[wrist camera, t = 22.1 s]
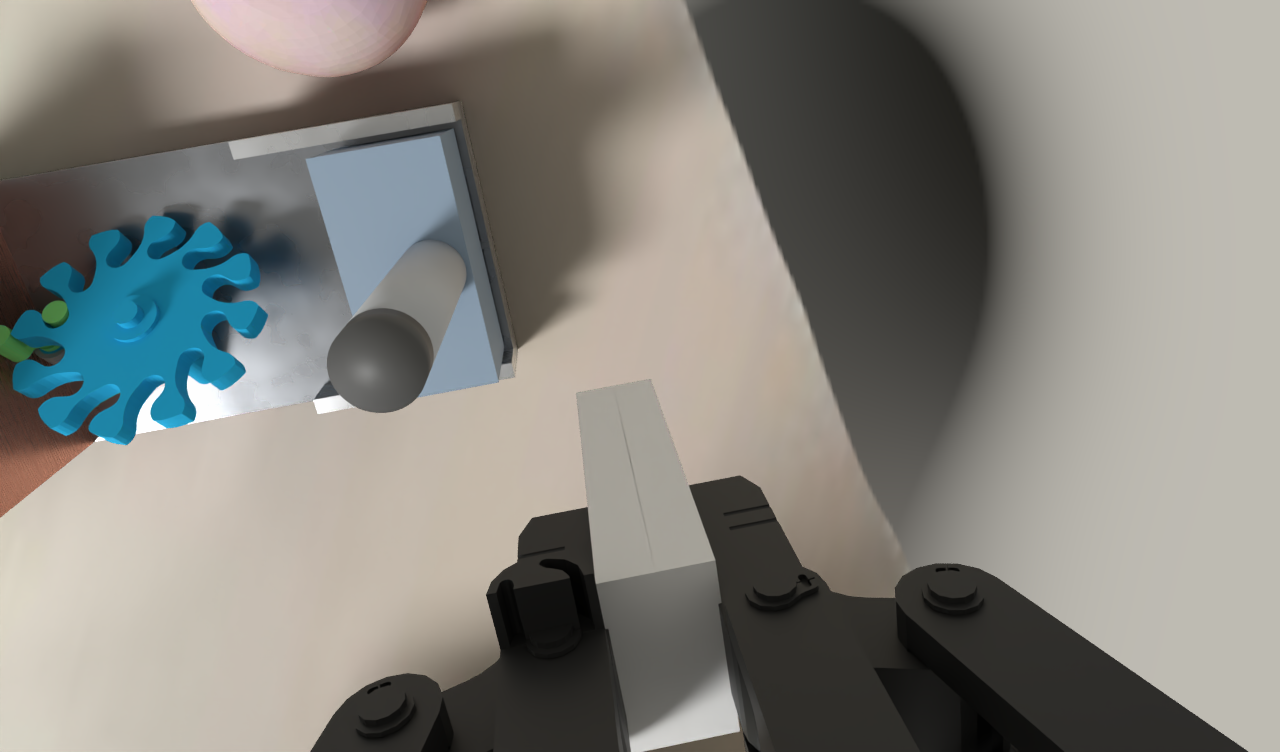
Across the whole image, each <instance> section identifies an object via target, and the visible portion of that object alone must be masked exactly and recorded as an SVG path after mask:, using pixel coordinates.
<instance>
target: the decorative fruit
mask: <svg viewBox="0 0 1280 752" xmlns="http://www.w3.org/2000/svg"><path fill="white" fill-rule="evenodd" d="M191 1H192V3H193V5H194V6H195V8H196V9H197V11H198V12H199V13H200V15H201V16H202V17H203V19H204V20H205V21H206V22H207V23H208V24H209V25H210V26H211V27H212V28H213V29H214V30H215V31H216V32H217V33H218V34H219V35H220V36H221V37H222V38H224V39H225V40H226V41H227V42H229V43H230V44H231V45H232V46H234V47H235V48H237V49H239V50H240V51H242V52H243V53H245V54H246V55H248V56H250V57H252V58H253V59H256V60H258V61H260V62H262V63H264V64H266V65H269V66H271V67H274V68H276V69H279V70H283V71H287V72H292V73H297V74H303V75H309V76H318V77H338V76H344V75H349V74H353V73H357V72H360V71H363V70H366V69H369V68H371V67H373V66H375V65H377V64H379V63H381V62H382V61H384V60H385V59H387V58H388V57H390V56H391V55H392V54H393V53H394V52H396V51H397V50H398V49H399V48H400V47H401V46H402V45H403V44H404V42H405V41H406V40H407V39H408V37H409V36H410V35H411V33H412V31H413V30H414V28H415V27H416V25H417V23H418V21H419V19H420V17H421V15H422V13H423V10H424V8H425V5H426V3H427V0H191Z"/></svg>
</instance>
